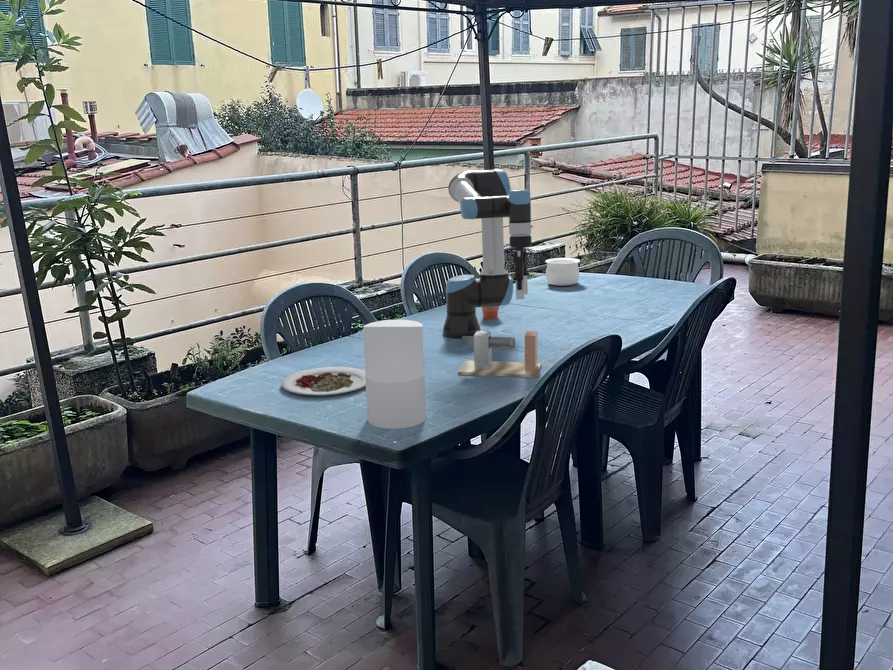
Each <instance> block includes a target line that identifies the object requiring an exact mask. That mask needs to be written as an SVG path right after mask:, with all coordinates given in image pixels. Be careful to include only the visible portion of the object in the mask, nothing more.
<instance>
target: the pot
mask: <svg viewBox="0 0 893 670" xmlns="http://www.w3.org/2000/svg"><path fill="white" fill-rule="evenodd" d="M580 262H581V260H580V259H579V258H573V257H555V258H549V259H546V260H545V263H546V264H547V265H546V269H545V270H546V271H545V279H546V282H547V284H549V285H553V286H572V285H576V284H577V283H578V282H579V278H580V271H579V268H580V267H579V263H580Z"/></svg>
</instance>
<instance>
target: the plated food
mask: <svg viewBox="0 0 893 670" xmlns="http://www.w3.org/2000/svg"><path fill="white" fill-rule="evenodd" d="M365 374H366V372H365V369H360V368H355V367H347V366H325V367H317V368H316V367H315V368H310V369H304V370H301V371H297V372H294V373H292V374H290V375H288V376H286V377H284V379H283V380H282V381H281V387H282V388H283V389H284V390H285V391H288V392H291V393H292V394H297V395H306V396H334V395H340V394H346V393H348V392H349V393H350V392H352V391H353V392H354V391H357V390H359V389H362V388H364V387H366V381H365Z"/></svg>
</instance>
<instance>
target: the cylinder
mask: <svg viewBox="0 0 893 670" xmlns="http://www.w3.org/2000/svg"><path fill="white" fill-rule="evenodd" d="M362 328H363V329H362V332H363V350H364V353H363V354H364V368H365V369H364V371H365V372H366V374H365V381H366V386H365V395H366V397H365V398H366V400H365V401H366V415H367V416H366V417H367V423H369V425H371V426H373V427H377V428H379V429H389V430H399V429H400V430H402V429H407V428H411V427H415V426H418V425H420V424H422V423H424V422H425V420H426V419H427V418H426V417H427V415H426V414H427V413H426V411H427V410H426V388H425V387H426V384H425V383H426V382H425V361H424V355H425V354H424V334H423V332H424V330H423V328H424V327H423V324H422V323H421V322H419V321H416V320H409V319H385V320H384V319H383V320H377V321H373V322H370V323H367V324H365V325H363V327H362Z"/></svg>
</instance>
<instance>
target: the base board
mask: <svg viewBox="0 0 893 670" xmlns="http://www.w3.org/2000/svg"><path fill="white" fill-rule="evenodd" d="M541 368H542V362H538V366H537V369H536V371H525V361H523V362H522V361H497V360H496V361H493V360H492V365H491V366H490V368H489V369H475V368H474V360H470V359H469V360H467V359H466V360H465V361H464V362H463V364H462V365H461V367H460V368H459V369H458V372H457V375H460V376H461V375H463V376H487V377H489V376H490V377H493V376H494V377H513V378H515V377H516V378H538V375H539V373H540V370H541Z"/></svg>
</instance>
